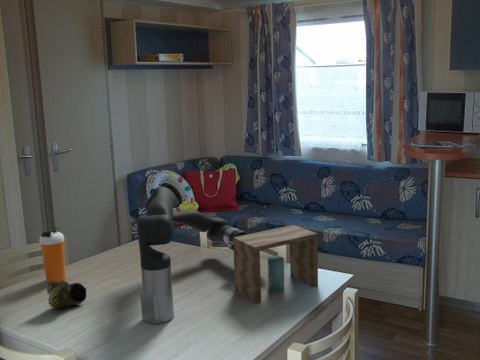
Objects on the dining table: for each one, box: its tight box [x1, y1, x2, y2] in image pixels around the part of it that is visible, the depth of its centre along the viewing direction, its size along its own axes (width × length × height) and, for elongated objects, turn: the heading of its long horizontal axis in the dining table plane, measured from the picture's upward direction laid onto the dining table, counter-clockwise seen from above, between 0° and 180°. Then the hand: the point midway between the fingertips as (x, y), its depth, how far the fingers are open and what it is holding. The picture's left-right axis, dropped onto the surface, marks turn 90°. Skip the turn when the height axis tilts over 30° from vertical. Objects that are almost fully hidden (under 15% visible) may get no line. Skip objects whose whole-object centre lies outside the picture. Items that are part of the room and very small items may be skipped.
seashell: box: [45, 280, 87, 310], centre depth 178 cm, size 11×11×10 cm
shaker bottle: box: [38, 227, 67, 282], centre depth 203 cm, size 9×9×20 cm
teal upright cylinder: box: [267, 255, 285, 292], centre depth 188 cm, size 6×6×11 cm
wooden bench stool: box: [233, 224, 319, 304], centre depth 187 cm, size 14×26×20 cm, turn 120°
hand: (258, 248), depth 196 cm, fingers open, 8 cm apart
